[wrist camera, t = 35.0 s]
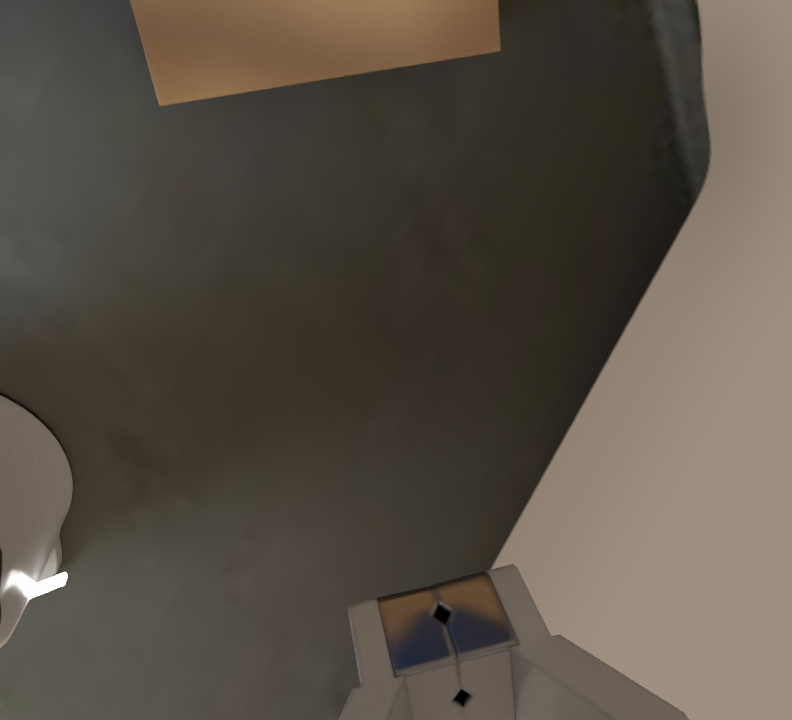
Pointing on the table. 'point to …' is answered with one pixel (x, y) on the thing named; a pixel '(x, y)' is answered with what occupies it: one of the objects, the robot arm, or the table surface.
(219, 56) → the cabinet
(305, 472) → the table surface
